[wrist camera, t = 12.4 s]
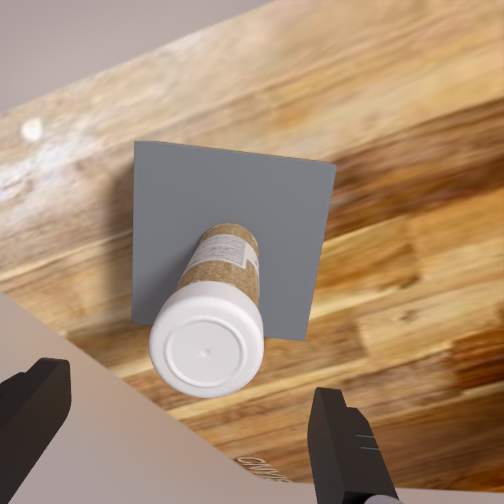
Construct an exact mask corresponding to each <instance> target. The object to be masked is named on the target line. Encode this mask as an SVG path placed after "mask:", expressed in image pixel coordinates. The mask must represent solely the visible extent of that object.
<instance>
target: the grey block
mask: <svg viewBox="0 0 504 504" xmlns="http://www.w3.org/2000/svg"><path fill="white" fill-rule="evenodd" d="M336 168H337V165H334V164H330V163H327V162H324V161H316V160H308V159H300V158H291V157H283V156H275V155H266V154H258V153H250V152H242V151H233V150H225V149H217V148H209V147H200V146H192V145H184V144H176V143H167V142H159V141H134V199H133V267H132V323H135V324H145V325H153V324H154V322H155V320H156V318H157V316H158V314H159V312H160V310H161V308H162V307H163V305H164V304H165V302H166V301H167V300H168V298H169V297H170V296H171V295H172V294H174V293H175V291H176V289H177V286H178V283H179V281H180V279H181V277H182V275H183V273H184V271H185V269H186V268H187V266H188V264H189V262H190V260H191V259H192V257H193V255H194V253H195V251H196V250H197V248H198V247H199V244H200V241H201V239H202V237H203V235H204V234H205V233H206V232H207V231H208V230H209V229H210V228H212V227H213V226H215V225H218V224H221V223H233V224H238V225H240V226H242V227H244V228H246V229H247V230H248V231H249V232H250V233H251V234H252V235H253V236H254V238H255V239H256V241H257V244H258V248H259V258H258V263H259V299H258V310H259V313H260V315H261V318H262V323H263V335H264V337H268V338H278V339H287V340H297V341H305V336H306V331H307V326H308V320H309V315H310V309H311V304H312V298H313V293H314V288H315V282H316V277H317V271H318V266H319V260H320V255H321V250H322V244H323V239H324V233H325V228H326V223H327V217H328V212H329V206H330V201H331V195H332V190H333V185H334V179H335V174H336Z"/></svg>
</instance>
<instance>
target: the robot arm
mask: <svg viewBox="0 0 504 504" xmlns="http://www.w3.org/2000/svg"><path fill="white" fill-rule="evenodd" d="M70 406H71V380H70V364H69V361H67V360H63V359H53V358H41V359H39V360H38V361H37V362H36V363H35V364H34V365H33V366H32V367H31V368H30V369H29V370H28V371H27V372H26V373H24V372H20V373H18V374H16V375H14V376H12V377H11V378H9V379H7V380H5V381H3V382H2V383H1V384H0V504H8V503H9V501H10V500H11V498H12V497H13V495H14V494H15V493H16V491H17V489H18V488H19V486H20V485H21V484H22V482H23V481H24V479H25V478H26V477H27V475H28V473H29V472H30V471H31V469H32V468H33V466H34V465H35V463H36V462H37V461H38V459H39V458H40V456H41V455H42V453H43V452H44V450H45V449H46V447H47V446H48V445H49V443H50V442H51V440H52V439H53V437H54V436H55V434H56V433H57V431H58V430H59V428H60V427H61V426H62V424H63V423H64V421H65V420H66V418H67V415H68V413H69V410H70ZM307 439H308V449H309V455H310V461H311V467H312V473H313V479H314V485H315V491H316V496H317V503H318V504H404V503H402V502H400V501H399V498H398V496H397V493H396V491H395V488H394V486H393V483H392V481H391V478H390V476H389V473H388V471H387V468H386V465H385V463H384V460H383V458H382V455H381V453H380V451H379V450H378V445H377V443H376V440H375V439H374V435H373V433H372V430H371V428H370V425H369V423H368V421H367V420H366V418H365V417H364V416H363V415H362V414H361V413H360V411H359V410H358V409H357V408H352V407H347V406H346V403H345V401H344V398H343V395H342V392H341V390H340V389H331V388H322V387H317V388H316V390H315V394H314V399H313V404H312V409H311V414H310V419H309V424H308V434H307Z"/></svg>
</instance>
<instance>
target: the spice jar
mask: <svg viewBox="0 0 504 504" xmlns="http://www.w3.org/2000/svg"><path fill="white" fill-rule="evenodd" d="M258 258H259V248H258V244H257V241H256V239H255V238H254V236H253V235H252V234H251V233H250V232H249V231H248V230H247V229H246V228H244V227H242V226H240V225H238V224H233V223H221V224H218V225H215V226H213V227H212V228H210V229H209V230H208V231H207V232H206V233H205V234H204V235H203V237H202V239H201V241H200V244H199V247H198V248H197V250H196V251H195V253H194V255H193V257H192V259H191V260H190V262H189V264H188V266H187V268H186V269H185V271H184V273H183V275H182V277H181V279H180V281H179V283H178V286H177V289H176V291H175V293H174V294H172V295H171V296H170V297H169V298H168V300H167V301H166V302H165V304H164V305H163V307H162V308H161V310H160V312H159V314H158V316H157V318H156V320H155V322H154V324H153V327H152V329H151V332H150V337H149V354H150V358H151V361H152V364H153V366H154V368H155V370H156V371H157V373H158V374H159V375H160V377H161V378H162V379H163V380H164V381H165V382H166V383H167V384H168V385H170V386H171V387H173V388H174V389H176V390H178V391H180V392H182V393H184V394H187V395H190V396H194V397H200V398H216V397H222V396H226V395H229V394H232V393H234V392H236V391H238V390H239V389H241V388H242V387H244V386H245V385H246V384H247V383H248V382H249V381H250V380H251V379H252V378H253V377H254V376H255V374H256V373H257V371H258V369H259V367H260V365H261V362H262V358H263V351H264V335H263V323H262V318H261V315H260V313H259V310H258V299H259V263H258Z"/></svg>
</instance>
